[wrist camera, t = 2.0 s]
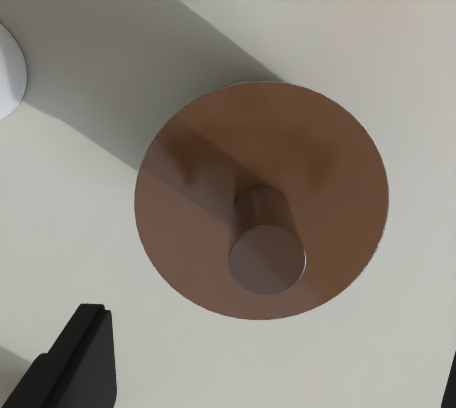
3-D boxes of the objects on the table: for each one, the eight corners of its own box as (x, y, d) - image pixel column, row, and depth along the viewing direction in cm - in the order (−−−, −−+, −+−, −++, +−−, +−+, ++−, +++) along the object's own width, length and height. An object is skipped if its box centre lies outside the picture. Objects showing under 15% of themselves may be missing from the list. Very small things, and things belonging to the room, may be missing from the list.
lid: (134, 75, 19) (87, 81, 13) (401, 85, 19) (475, 96, 13) (143, 303, 23) (112, 385, 17) (361, 312, 23) (403, 398, 17)
